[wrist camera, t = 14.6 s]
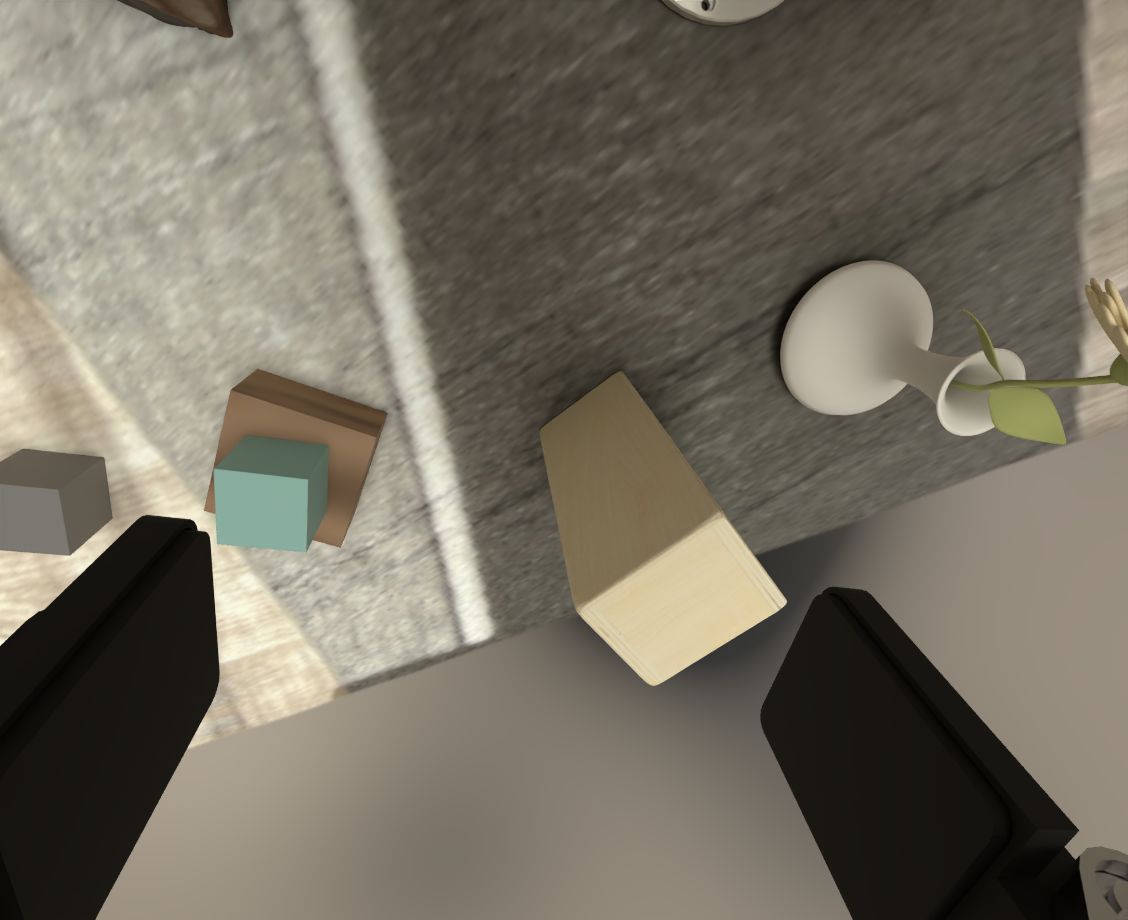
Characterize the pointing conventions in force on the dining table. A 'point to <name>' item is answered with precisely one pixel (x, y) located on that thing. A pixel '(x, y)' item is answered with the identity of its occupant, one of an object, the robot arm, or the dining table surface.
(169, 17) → the brown rock
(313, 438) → the walnut block
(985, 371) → the flower in vase
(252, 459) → the teal cube
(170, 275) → the dining table surface
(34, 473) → the grey cube
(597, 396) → the tall cream block
